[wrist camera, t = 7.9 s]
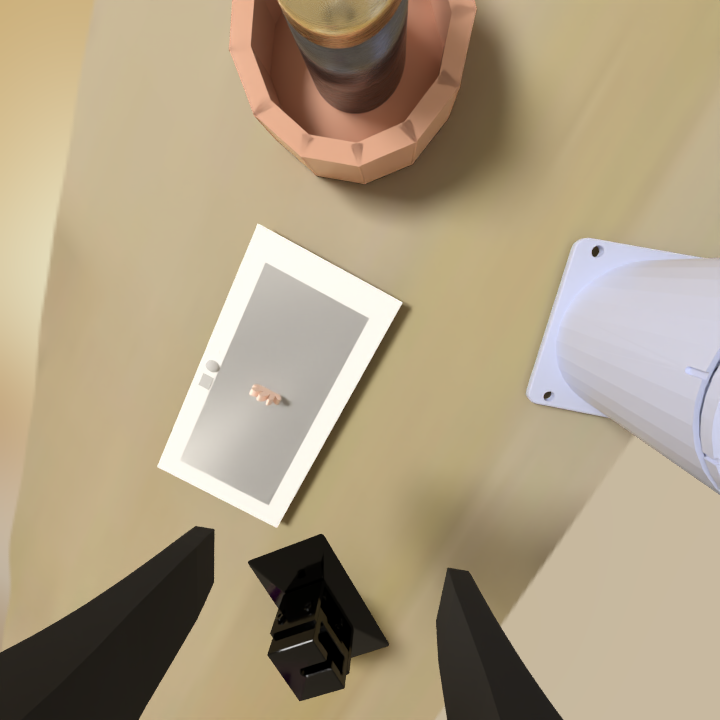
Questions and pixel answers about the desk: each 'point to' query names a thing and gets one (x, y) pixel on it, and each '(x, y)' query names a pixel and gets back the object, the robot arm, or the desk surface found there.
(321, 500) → the desk surface
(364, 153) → the peach round shallow bowl
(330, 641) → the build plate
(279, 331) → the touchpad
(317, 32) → the battery
